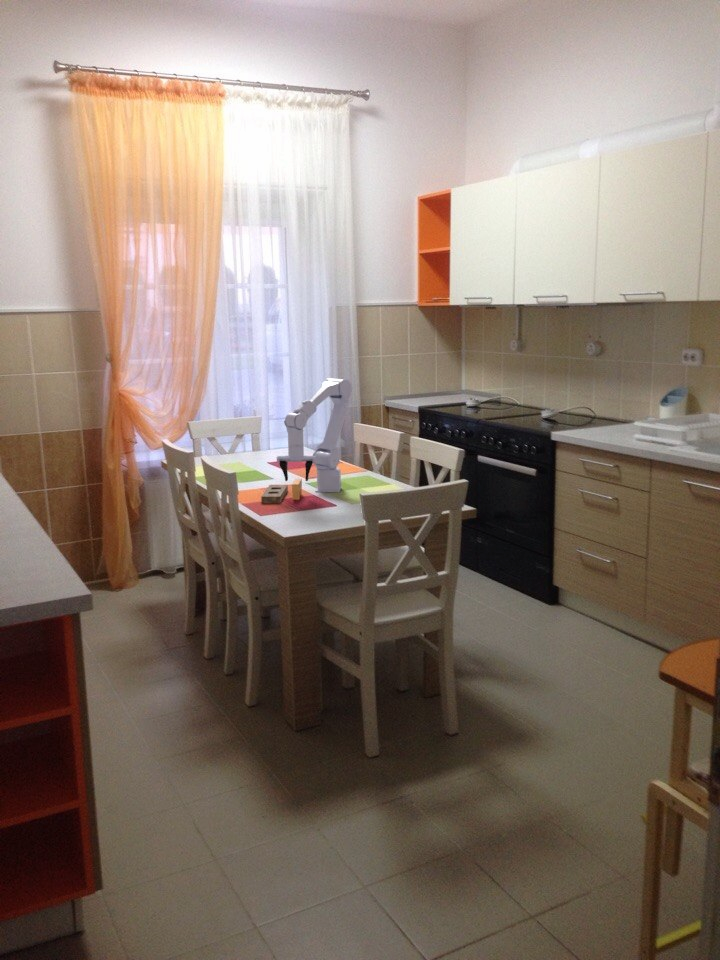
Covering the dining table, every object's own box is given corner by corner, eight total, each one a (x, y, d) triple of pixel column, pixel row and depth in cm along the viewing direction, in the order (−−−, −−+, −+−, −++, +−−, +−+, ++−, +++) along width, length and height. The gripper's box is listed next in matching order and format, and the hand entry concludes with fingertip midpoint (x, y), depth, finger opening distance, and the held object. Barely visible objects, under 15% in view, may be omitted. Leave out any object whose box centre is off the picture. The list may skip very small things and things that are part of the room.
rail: (287, 490, 324) (287, 484, 323) (280, 503, 304) (280, 496, 303) (269, 490, 324) (269, 484, 323) (261, 503, 304) (261, 496, 304)
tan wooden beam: (302, 493, 318) (301, 478, 317) (298, 500, 309) (298, 484, 307) (295, 493, 318) (295, 478, 317) (292, 500, 309) (292, 484, 307)
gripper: (275, 446, 306) (276, 482, 309) (314, 446, 305) (314, 482, 308) (277, 443, 313) (278, 478, 315) (315, 443, 312) (316, 478, 315)
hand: (296, 480), depth 312 cm, fingers open, 7 cm apart
